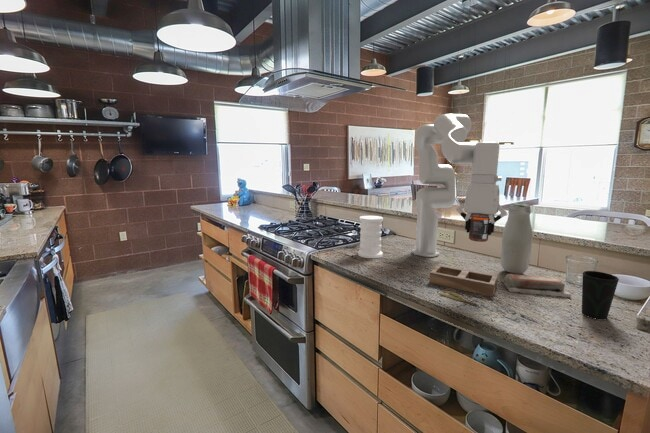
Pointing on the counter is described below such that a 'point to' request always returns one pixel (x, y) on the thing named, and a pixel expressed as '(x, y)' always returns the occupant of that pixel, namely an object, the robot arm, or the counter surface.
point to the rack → (464, 280)
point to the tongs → (458, 297)
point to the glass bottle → (517, 239)
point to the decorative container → (370, 237)
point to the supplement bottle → (479, 227)
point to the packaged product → (535, 285)
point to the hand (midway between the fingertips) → (478, 232)
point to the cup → (597, 293)
